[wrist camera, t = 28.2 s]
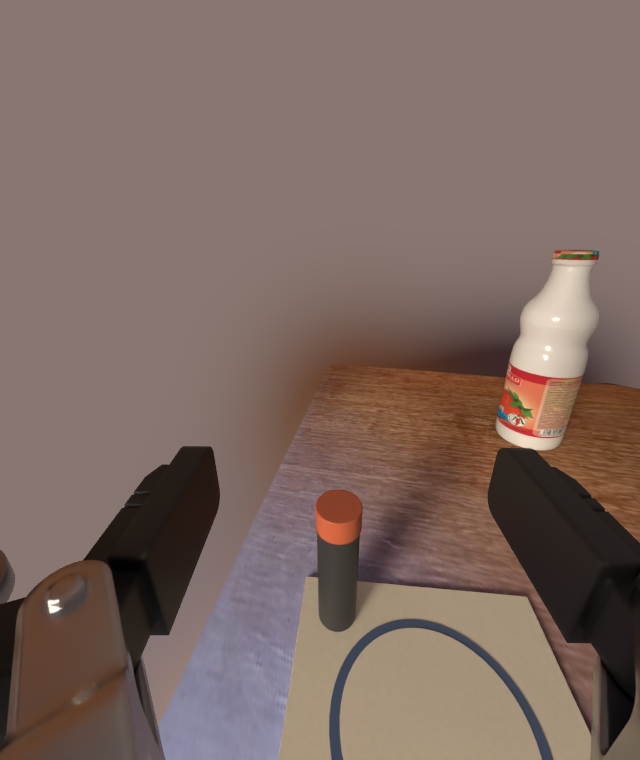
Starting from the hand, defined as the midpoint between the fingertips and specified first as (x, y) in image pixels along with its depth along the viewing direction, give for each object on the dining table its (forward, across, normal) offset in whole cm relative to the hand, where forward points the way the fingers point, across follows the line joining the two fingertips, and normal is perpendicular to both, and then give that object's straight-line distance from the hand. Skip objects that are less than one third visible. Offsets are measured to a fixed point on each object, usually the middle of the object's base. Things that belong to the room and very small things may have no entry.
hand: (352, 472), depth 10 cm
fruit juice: (+40, -32, +24) cm, 56 cm away
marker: (+11, 0, +24) cm, 26 cm away
